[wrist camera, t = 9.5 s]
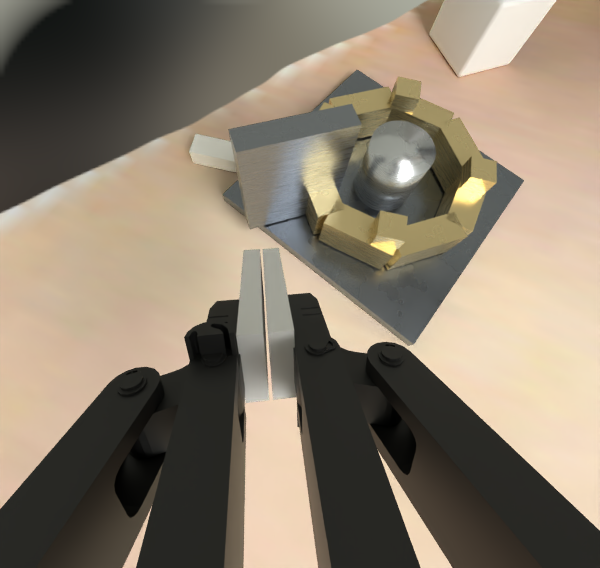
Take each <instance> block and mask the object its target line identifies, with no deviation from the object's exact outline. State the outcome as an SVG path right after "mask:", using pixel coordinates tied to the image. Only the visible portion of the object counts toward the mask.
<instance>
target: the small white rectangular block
mask: <svg viewBox="0 0 600 568" xmlns="http://www.w3.org/2000/svg"><path fill="white" fill-rule="evenodd" d="M189 153H190V155H191V158H192V161H193V163H195V164H200V165H204V166H209V167H214V168H218V169H223V170H227V171H232V172H236V166H235V161H234V155H233V150H232V145H231V141H227V140H223V139H218V138H213V137H209V136H204V135H200V134H195V137H194V140H193V142H192V145H191V148H190V150H189Z"/></svg>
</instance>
